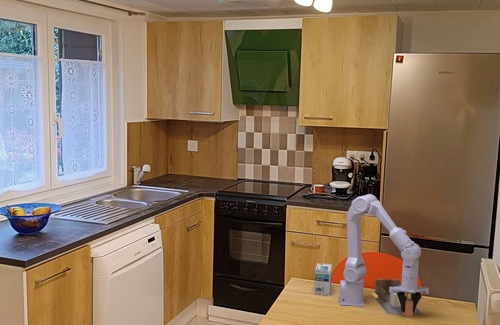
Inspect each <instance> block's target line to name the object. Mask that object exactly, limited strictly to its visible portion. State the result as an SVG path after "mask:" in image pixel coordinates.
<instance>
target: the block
mask: <svg viewBox="0 0 500 325" xmlns="http://www.w3.org/2000/svg"><path fill="white" fill-rule="evenodd" d="M405 296H406V297H407V295H406V294H405ZM390 304H391V305H392V306H393V307H401V305H400V301H399V298H398V296H397V293H390ZM401 315H402V316H404V318H405V317H406V318H407V317H408V318H411V317H412V318H413V315H414V314H413V300H412V299H411V297H410V298H408V297H407V298H406V303H405V313H403V312H402V314H401Z"/></svg>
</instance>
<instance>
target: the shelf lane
mask: <svg viewBox="0 0 500 325" xmlns="http://www.w3.org/2000/svg"><path fill="white" fill-rule="evenodd" d="M400 283H401V280H400V279H399V278H375V284H374V285H375V286H374V292H375V293H376V294H377V295H378V298H374V299H375V300H376V301H377V303H378V304H379V305H380V306H381V307H382V309H383V310H384V311H385V313H386V314H387V315H403V314H402V311H401V307H393V306H392V305H391V304H390V292H389V287H396V286H401V284H400ZM405 294H406V295H407V298H408V297H409V296H408V294H409V293H405ZM413 315H424V313H423V312H422V311H421V310H420V309H419V308H418V307H417V306H416V308H415V311H414V313H413Z"/></svg>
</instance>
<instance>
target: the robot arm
mask: <svg viewBox="0 0 500 325" xmlns="http://www.w3.org/2000/svg"><path fill="white" fill-rule="evenodd" d="M365 215H369V216H373V217H376V218H377V219H378V221H379V222H380V223H381V224H382V225H383V227H384V228H385V229H386V230H387V231H388V233H389V235H388V236H389V238H390V240H391V241H392V242H393V243H394V245H395V246H396V247H397V249H398V251H400V252H401V253H400V256H401V258H402V269H401V270H402V271H401V273H402V274H401V284H400V286H396V287H389V292H390V293H397V296H398V298H399V301H400V305H401V311H402V312H403V313H405V303H406V298H408V297H406V296H405V293H408V294H410V298H411V299H412V300H413V313H414V311H415V308H416V307H417V305H418V303H419V302H420V300H421V299H422V294H425V295H429V294H430V293H429V292H430V288H428V287H424V286H418V280H419V265H420V264H419V258H420V257H421V255H422V249H421V246H420V245H419V244H417V243H415V241H413V240H412V239H411V238H410V237H409V235H408V234H407V231H406V230H405V229H403V228H402V227H397V225H396V224H395V222H394V221H393V220H392V218H391V217H390V216H389V214H388V213H387V211H386V209H385V208H384V207H383V206H382V203H381V201H379V199H378V198H377V197H376V196H375V195H373V194H371V193H368V194H365V195H361V196H357V197H356V198H354V199H353V200H352V201H351V205H350V206H349V209H348V211H347V213H346V227H347V228H346V230H347V231H346V232H347V259H346V262H345V265H344V270H343V276H342V277H343V278H344V280H342V279H341V280H340V282H339V283H340V284H339V294H338V300H339V305H341V306H348V307H351V306H352V307H365V302H364V286H365V280H364V277H366V275H367V272H368V270H367V267H366V265H365V259H364V258H363V257H362V255H363V254H362V253H363V252H362V223H361V221H362V220H361V219H362V217H363V216H365Z"/></svg>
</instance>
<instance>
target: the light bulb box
mask: <svg viewBox="0 0 500 325" xmlns="http://www.w3.org/2000/svg"><path fill="white" fill-rule="evenodd" d="M314 272H315V274H314V276H315V278H314V295H319V294H321V295H320V296H328V295H330V296H331V293H332V284H333V283H332V282H333V281H332V279H333V278H332V277H333V264H332V263H323V262H322V263H320V262H317V263H316V266H315V271H314Z"/></svg>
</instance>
